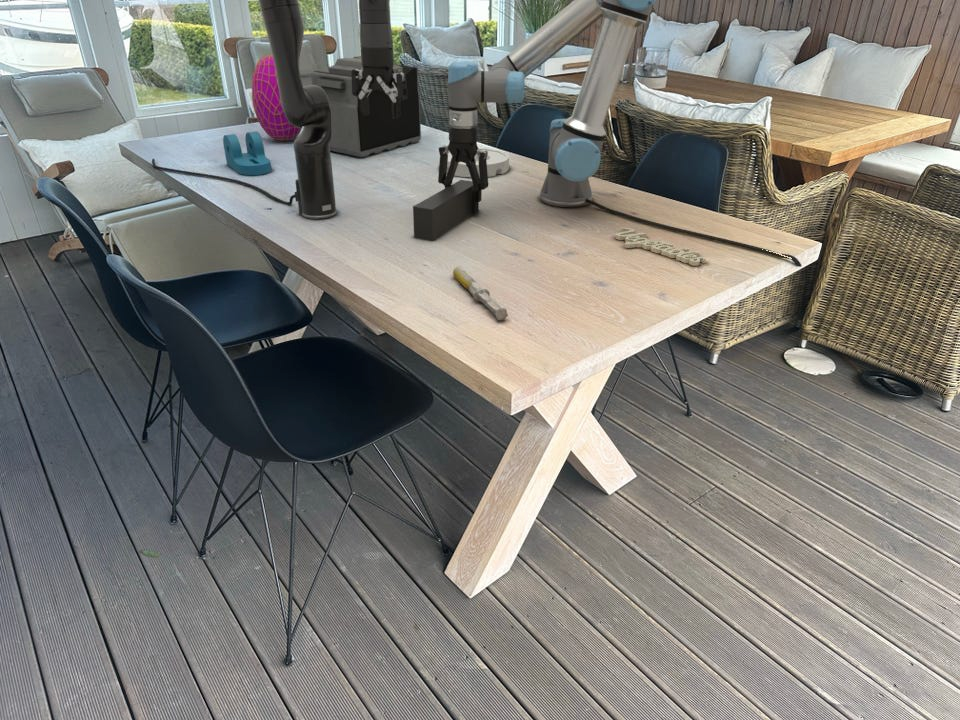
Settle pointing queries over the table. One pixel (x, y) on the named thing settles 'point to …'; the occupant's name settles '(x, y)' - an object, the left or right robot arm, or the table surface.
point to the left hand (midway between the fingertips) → (380, 116)
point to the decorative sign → (659, 247)
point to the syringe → (479, 293)
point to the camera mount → (246, 154)
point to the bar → (443, 210)
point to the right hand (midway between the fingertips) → (463, 210)
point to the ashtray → (495, 163)
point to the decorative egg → (270, 102)
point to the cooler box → (378, 127)
